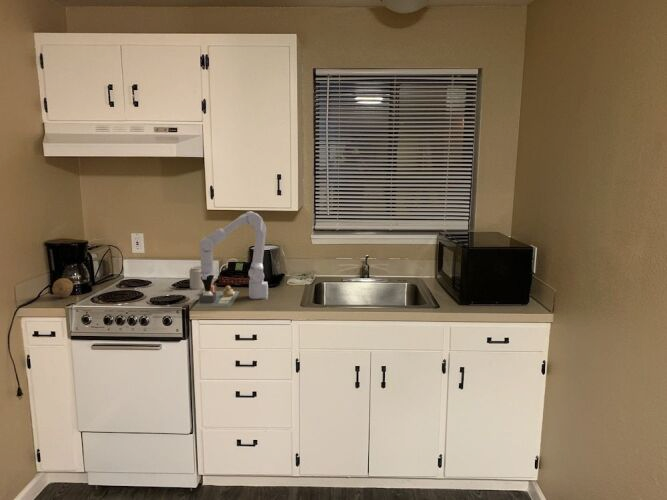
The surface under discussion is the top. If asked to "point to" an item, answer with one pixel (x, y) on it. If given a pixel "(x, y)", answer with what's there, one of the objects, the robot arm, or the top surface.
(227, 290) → the pawn
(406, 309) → the top surface
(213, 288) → the die
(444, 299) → the top surface
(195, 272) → the can
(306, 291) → the top surface
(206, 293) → the dome
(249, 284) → the robot arm
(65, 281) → the natural sponge
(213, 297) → the board
